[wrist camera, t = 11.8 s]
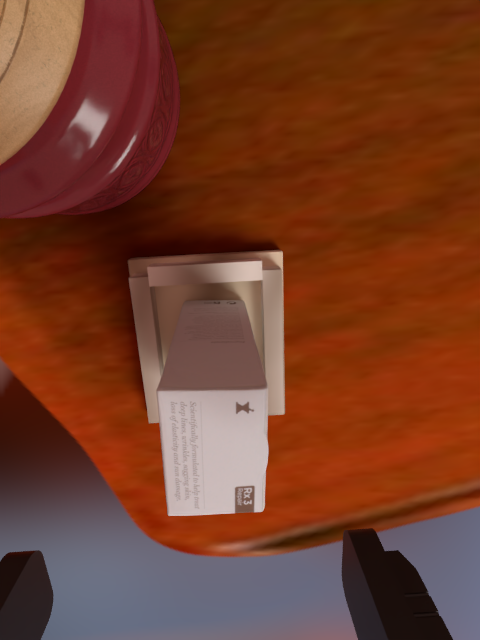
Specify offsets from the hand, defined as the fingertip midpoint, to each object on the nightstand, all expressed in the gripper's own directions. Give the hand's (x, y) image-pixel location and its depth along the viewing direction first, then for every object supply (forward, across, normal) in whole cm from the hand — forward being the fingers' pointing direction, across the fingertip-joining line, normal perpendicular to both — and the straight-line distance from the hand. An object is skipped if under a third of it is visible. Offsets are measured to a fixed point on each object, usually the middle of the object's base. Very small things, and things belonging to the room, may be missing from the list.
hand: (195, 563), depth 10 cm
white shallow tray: (+18, 0, 0) cm, 18 cm away
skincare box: (+17, 0, 0) cm, 17 cm away
